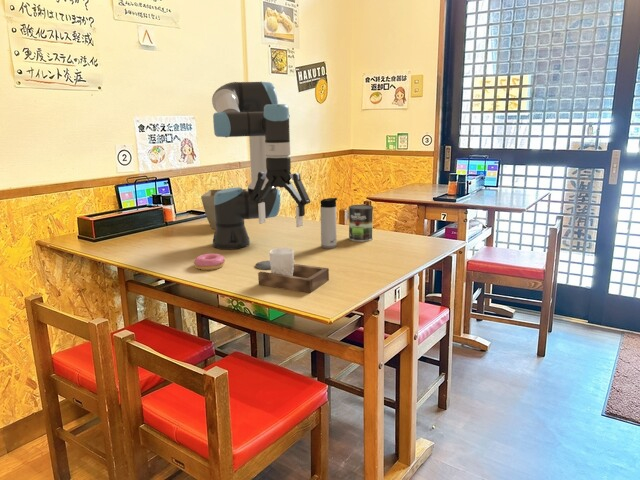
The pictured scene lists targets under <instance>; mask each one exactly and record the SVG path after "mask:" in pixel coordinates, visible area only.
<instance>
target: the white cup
mask: <svg viewBox="0 0 640 480" xmlns="http://www.w3.org/2000/svg"><path fill="white" fill-rule="evenodd" d="M269 261H270V266H271V269H270V273H275V274H282V275H288V276H293V270H294V264H295V262H294V261H295V251H294V249H293V248H288V247H287V248H286V247H278V248H277V247H276V248H273V249H271V250H269Z"/></svg>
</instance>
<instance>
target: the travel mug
mask: <svg viewBox="0 0 640 480" xmlns="http://www.w3.org/2000/svg"><path fill="white" fill-rule="evenodd" d="M337 201H338V198H337V197H330V198H329V197H328V198H323V199H321V200H320V246H321V248H323V249H326V250H329V249H336V248H337V246H338V245H337V240H338V239H337Z"/></svg>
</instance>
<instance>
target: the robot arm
mask: <svg viewBox="0 0 640 480" xmlns="http://www.w3.org/2000/svg"><path fill="white" fill-rule="evenodd" d="M276 91H277V90H276V88H275V86H274V84H273V83H272V82H270V81H269V82H268V81H233V82H232V81H231V82H229V83H224V84H223V85H221V86H220V87H218V88H217V89H216V90H215V91H214V93H213V94H212V98H211V102H212V107H213V109H214V110H215V112H214V113H213V114H212V117H213V118H212V119H213V131H214V132H213V133H214V136H216V138H217V137H218V138H234V137H235V138H236V137H237V138H238V137H240V138H241V137H248V140H249V156H250V158H249V159H250V163H249V164H250V181H251V182H250V183H248V185H247V189H248V191H243V189H244V188H242V187H240V186H239V187H231V188H230V187H229V188H224V190H220V191H218V192H216V193H215V195H214V205H215V219H216V229H214V230H215V231H214V234H213V239H212V247H214V248H216V249H218V250H219V249H220V250H236V249H241V248H245V247H248V246H249V245H250V237H249V235H248V232H247V229H246V226H245V220H254V219H257V220H258V224H259V225H263V224H265V223H266V219H270V218H271V219H272V218H276V217H277V216H278V215H279V212H280V209H281V190H280V189H283V188H284V189H285V190H286V191H287V192H288V193H289V195H290V197H292V199H293V200H294V202H295V203H296V204H297V205H296V206H295V218H296V219H295V220H296V221H295V224H296V226H295V227H296V228H301V227H303V226H304V220H303V218H304V216H305V214H306V211H305V206H306V205H309V204H310V203H311V199H310V197H309V194H308V192H307V190H306V188H305V187H304V184H303V181H302V179H301V173H300V172H296V173H295V172H294V173H292V172H291V168H292V166H291V162H292V161H291V157H290V155H291V140H290V139H291V138H290V134H291V133H290V111H289V110H290V109H289V106H288V105H287V104H285V103H279V101H278V96H277V95H278V94H277V92H276ZM291 180H292V181H293V183H292V182H291ZM294 186H295V187H294ZM278 188H279V189H278Z"/></svg>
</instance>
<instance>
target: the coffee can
mask: <svg viewBox="0 0 640 480" xmlns="http://www.w3.org/2000/svg"><path fill="white" fill-rule="evenodd" d="M373 214H374V206H373V205H369V204H352V205H349V206H348V240H350V241H351V242H356V243H357V242H358V243H363V242H364V243H365V242H370V241H372V240H373V231H374V230H373V229H374V228H373V227H374V225H373V223H374V221H373V220H374V219H373V218H374V215H373Z"/></svg>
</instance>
